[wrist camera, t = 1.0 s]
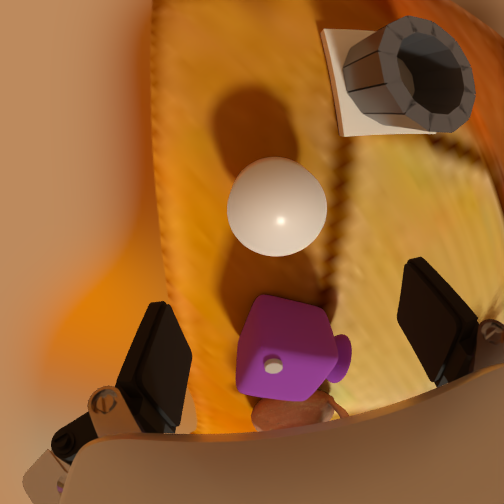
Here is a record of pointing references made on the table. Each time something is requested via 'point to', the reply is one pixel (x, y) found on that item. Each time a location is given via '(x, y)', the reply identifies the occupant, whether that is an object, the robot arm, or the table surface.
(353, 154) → the table surface
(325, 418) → the ceramic jug
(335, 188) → the table surface
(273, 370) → the toy camera
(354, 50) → the lens barrel
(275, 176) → the glossy white sphere
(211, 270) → the table surface
